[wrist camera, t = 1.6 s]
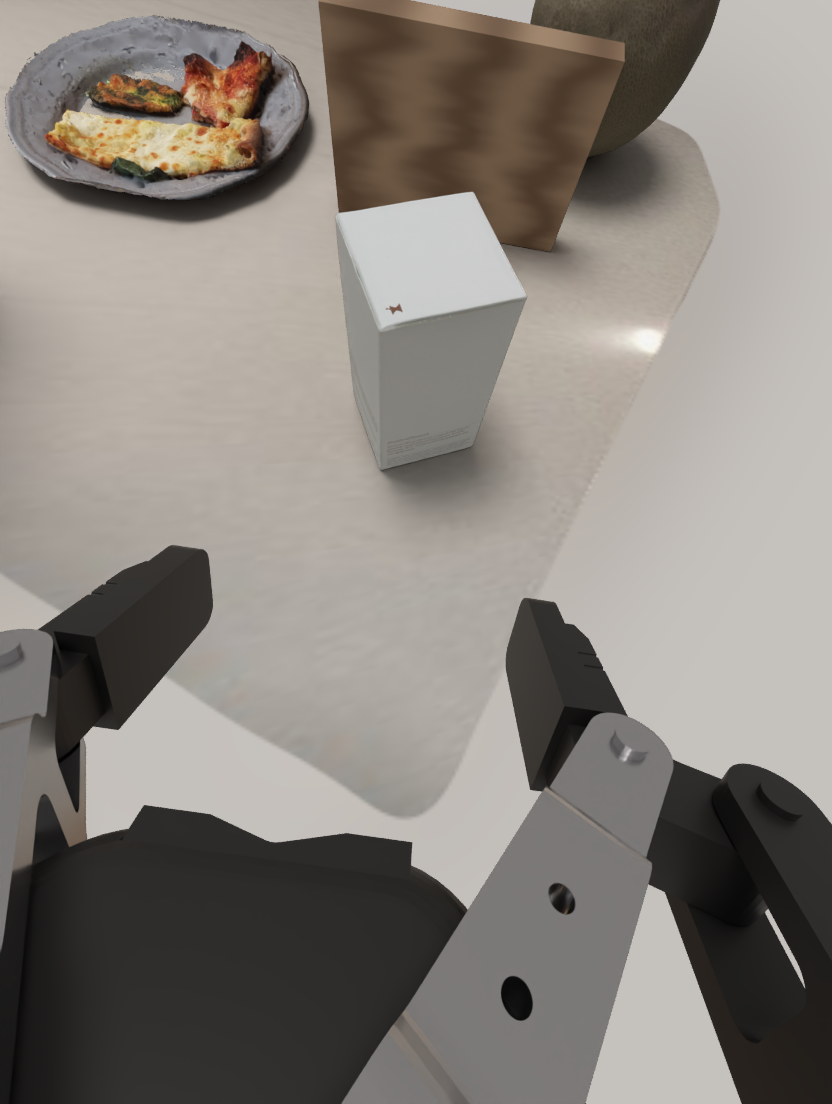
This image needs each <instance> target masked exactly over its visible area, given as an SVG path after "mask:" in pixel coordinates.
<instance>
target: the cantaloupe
mask: <svg viewBox="0 0 832 1104" xmlns="http://www.w3.org/2000/svg"><path fill="white" fill-rule="evenodd" d="M719 2H720V0H536V1H535V4H534V8H533V12H532V17H531V23H530V24H532V25H537V26H542V27H547V28H552V29H557V30H562V31H567V32H572V33H577V34H582V35H587V36H592V37H597V38H602V39H607V40H612V41H617V42H622V43H625V62H624V65H623V67H622V70H621V72H620V75H619V78H618V80H617V83H616V85H615V88H614V90H613V93H612V96H611V98H610V101H609V103H608V106H607V108H606V111H605V114H604V116H603V119H602V121H601V124H600V126H599V129H598V132H597V134H596V137H595V139H594V142H593V144H592V147H591V150H590V152H589V155H588V157H590V156H595V155H600V154H603V153H607V152H610V151H612V150H615V149H617V148H619V147H620V146H622V145H624V144H626V143H628V142H629V141H631V140H632V139H634V138H635V137H636V136H638V135H639V134H640V133H641V132H642V131H644V130H645V129H646V128H647V127H649V126H650V125H651V124H652V123H653V122H654V121H655V120H656V119H657V118H658V116H660V114H661V113H662V112H663V111H664V109H665V108H666V107H667V106H668V104H669V103H670V101H671V100H672V99H673V97H674V96H675V95H676V93H677V92H678V90H679V89H680V87H681V86H682V84H683V83H684V81H685V79H686V77H687V76H688V74H689V72H690V71H691V69H692V67H693V65H694V63H695V62H696V59H697V58H698V56H699V54H700V53H701V51H702V48H703V46H704V44H705V42H706V40H707V38H708V35H709V33H710V31H711V28H712V25H713V22H714V19H715V16H716V13H717V9H718V5H719Z"/></svg>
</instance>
